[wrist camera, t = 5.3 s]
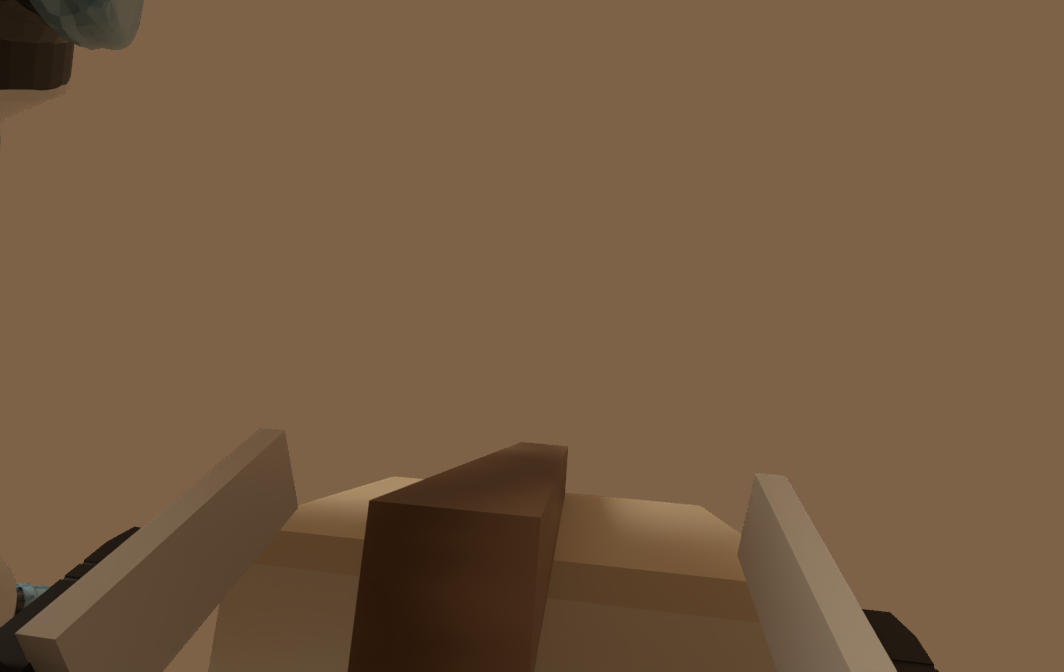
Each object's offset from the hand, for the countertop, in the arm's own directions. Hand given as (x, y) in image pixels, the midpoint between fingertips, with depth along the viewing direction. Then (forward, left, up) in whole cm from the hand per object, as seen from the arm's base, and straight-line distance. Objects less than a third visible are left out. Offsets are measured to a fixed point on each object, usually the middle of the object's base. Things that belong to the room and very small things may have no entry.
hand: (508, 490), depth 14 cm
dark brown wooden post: (0, +6, -3) cm, 7 cm away
